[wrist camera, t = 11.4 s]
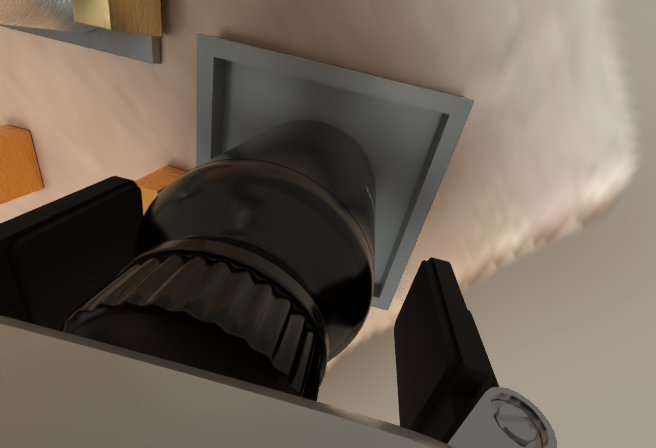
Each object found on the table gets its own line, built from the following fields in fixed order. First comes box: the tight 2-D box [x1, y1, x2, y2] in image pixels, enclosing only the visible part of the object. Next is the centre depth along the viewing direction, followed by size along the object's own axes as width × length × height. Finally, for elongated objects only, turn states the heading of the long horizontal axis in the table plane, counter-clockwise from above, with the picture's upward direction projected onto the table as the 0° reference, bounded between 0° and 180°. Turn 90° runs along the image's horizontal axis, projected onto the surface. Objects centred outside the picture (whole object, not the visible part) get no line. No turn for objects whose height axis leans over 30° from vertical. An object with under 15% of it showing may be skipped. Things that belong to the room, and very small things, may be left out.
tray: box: [197, 34, 474, 310], centre depth 16 cm, size 11×11×2 cm
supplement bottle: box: [58, 120, 376, 402], centre depth 11 cm, size 7×7×12 cm
